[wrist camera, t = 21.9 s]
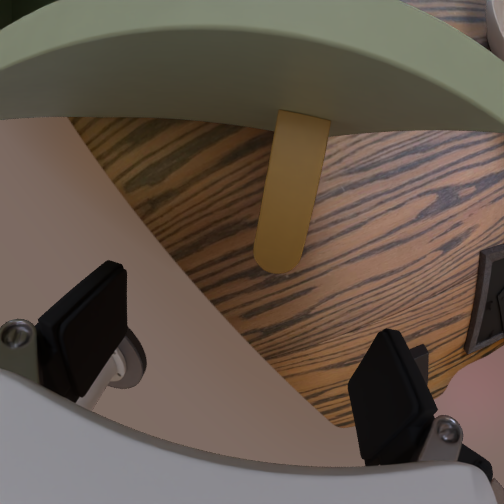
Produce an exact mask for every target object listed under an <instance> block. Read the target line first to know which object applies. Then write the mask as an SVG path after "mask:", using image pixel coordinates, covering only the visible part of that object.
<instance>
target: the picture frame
mask: <svg viewBox="0 0 504 504" xmlns="http://www.w3.org/2000/svg"><path fill="white" fill-rule="evenodd" d="M502 338H504V244H501V245H498V246H495V247H492V248H488V249H485V250H482V251H480V261H479V271H478V279H477V287H476V293H475V299H474V305H473V311H472V316H471V321H470V325H469V330H468V334H467V338H466V342H465V346H464V350H465V351H466V353H467V354H470V353H472V352H475V351H477V350H479V349H481V348H483V347H486V346H488V345H490V344H492V343H494V342H496V341H498V340H500V339H502Z"/></svg>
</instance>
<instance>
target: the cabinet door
mask: <svg viewBox="0 0 504 504" xmlns="http://www.w3.org/2000/svg"><path fill="white" fill-rule="evenodd" d="M34 117H143V118H167V119H182V120H194V121H205V122H214V123H223V124H231V125H238V126H245V127H252V128H258V129H264V130H270V131H274V137H273V142H272V148H271V153H270V159H269V164H268V170H267V175H266V181H265V186H264V192H263V197H262V203H261V208H260V214H259V219H258V225H257V230H256V236H255V241H254V247H253V255H254V258H255V261H256V262H257V264H258V265H259V266H260V267H261V268H262V269H264V270H265V271H267V272H270V273H274V274H281V273H286V272H288V271H290V270H292V269H293V268H294V267H295V266H296V265H297V264H298V263H299V261H300V259H301V256H302V252H303V248H304V244H305V240H306V236H307V232H308V228H309V224H310V220H311V215H312V211H313V207H314V202H315V198H316V194H317V189H318V184H319V180H320V175H321V170H322V166H323V161H324V156H325V151H326V146H327V141H328V137H331V136H340V135H350V134H361V133H374V132H390V131H414V130H459V131H482V132H496V133H504V62H503V61H502V60H501V59H499V58H498V57H497V56H496V55H494V54H493V53H492V52H490V51H489V50H487V49H486V48H485V47H483V46H482V45H480V44H479V43H477V42H476V41H474V40H473V39H471V38H470V37H468V36H467V35H465V34H463V33H462V32H460V31H459V30H457V29H455V28H453V27H452V26H450V25H448V24H446V23H445V22H443V21H441V20H439V19H437V18H435V17H433V16H432V15H430V14H428V13H426V12H423V11H421V10H419V9H417V8H415V7H413V6H411V5H408V4H406V3H404V2H401V1H399V0H58V1H55V2H53V3H51V4H49V5H46V6H44V7H42V8H40V9H38V10H36V11H34V12H32V13H30V14H28V15H26V16H24V17H22V18H20V19H19V20H17V21H15V22H13V23H12V24H10V25H8V26H6V27H5V28H3V29H1V30H0V120H5V119H16V118H17V119H18V118H34Z"/></svg>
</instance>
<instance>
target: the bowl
mask: <svg viewBox="0 0 504 504" xmlns="http://www.w3.org/2000/svg"><path fill="white" fill-rule="evenodd" d="M485 17H486V23H487V40H488V43H489V47H490V49H491V51H492V53H493V54H494V55H496V56H497V57H498V58H499V59H501V60H502V61H503V62H504V0H487V2H486V13H485Z"/></svg>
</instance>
